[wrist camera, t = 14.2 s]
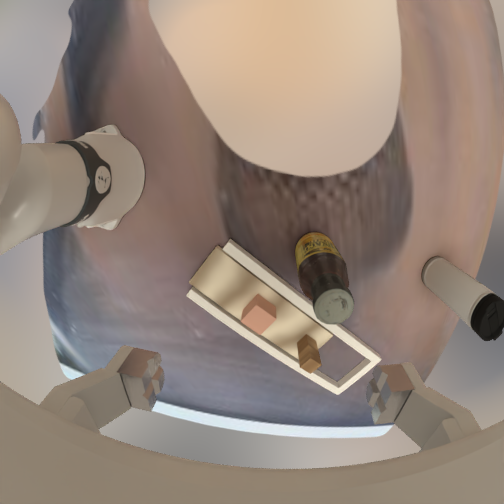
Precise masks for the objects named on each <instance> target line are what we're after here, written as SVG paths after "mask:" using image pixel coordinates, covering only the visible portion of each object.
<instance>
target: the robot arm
mask: <svg viewBox="0 0 504 504" xmlns="http://www.w3.org/2000/svg"><path fill="white" fill-rule="evenodd" d="M105 131H106V133H105ZM144 180H145V170H144V164H143V160H142V157H141V155H140V153H139V151H138V150H137V148H136V147H135V146H134V145H133V144H132V143H131V142H130V141H128V140H127V139H125V138H124V137H123V136H122V135H121V133H120V131H119V129H118V128H117V127H116V126H115V125H107V126H104V127H102V128H100V129H97V130H95V131H92V132H87V133H85V135H83V136H81V137H79V138H77V139H75V140H66V141H59V142H56V143H28V144H27V143H26V144H21V134H20V129H19V125H18V121H17V118H16V116H15V114H14V111H13V109H12V107H11V106H10V104H9V103H8V102H7V100H6V99H5V98H4V97H3V96H2V95H1V94H0V255H2V254H3V253H5V252H7V251H8V250H9V249H11V248H13V247H14V246H16V245H18V244H19V243H21V242H23V241H24V240H27V239H28V238H31V237H33V236H35V235H38V234H40V233H43V232H45V231H48V230H51V229H53V228H56V227H66V226H73V225H76V224H77V227H80V228H82V227H84V226H86V227H87V228H92V227H96V226H97V227H100V228H104V229H107V230H113V229H115V228H116V227H117V226H118V224H119V222H120V220H121V218H122V217H123V215H124V214H126V213H127V212H128V211H129V210H131V209H132V208H133V207H134V205H135V204H136V203H137V201H138V199H139V198H140V195H141V193H142V190H143V186H144ZM106 223H107V224H106ZM161 361H162V360H161V356H160V354H159V353H158V352H153V351H148V350H144V349H139V348H134V347H130V346H125V345H124V346H122V347H121V348H120V349H119V350H118V352H117V353H116V354H115V356H114V357H113V358H112V360H111V361H110V362H109V363H108V365H107V366H106V367H105V369H102V368H100V369H98V370H96V371H93V372H91V373H88V374H86V375H83V376H81V377H78V378H76V379H73V380H71V381H68V382H66V383H63V384H61V385H58V386H55V387H54V388H53V389H52V390H51V392H50V393H49V394H48V395H47V396H46V398H45V399H44V400H43V401H42V402H41V404H40V405H37V404H35V403H34V402H32V401H30V400H28V399H27V398H25V397H24V396H22V395H20V394H19V393H17V392H15V391H14V390H12V389H11V388H9V387H7V386H6V385H5V384H3V383H2V382H1V381H0V504H504V420H503V421H501V422H499V423H497V424H495V425H492V426H490V427H488V428H486V429H484V430H481V428H480V427H479V425H478V423H477V421H476V420H475V418H474V416H473V415H472V413H471V411H470V410H468V409H466V408H464V407H462V406H461V405H459V404H457V403H456V402H454V401H452V400H450V399H449V398H447V397H445V396H443V395H442V394H440V393H438V392H437V391H435V390H433V389H431V388H430V387H428V388H426V386H425V385H424V383H423V381H422V379H421V378H420V376H419V374H418V373H417V371H416V369H415V368H414V366H413V364H412V363H410V362H408V363H400V364H392V365H379V366H376V367H375V368H374V371H373V373H372V374H373V376H374V378H373V379H372V380H371V381H370V382H369V384H368V386H367V392H366V397H367V402H368V404H369V405H370V406H371V407H373V409H372V411H371V414H372V417H373V420H374V423H375V424H383V423H391V422H394V424H396V425H397V426H398V427H399V428H400V429H401V430H402V431H403V432H404V433H405V434H406V435H408V436H409V437H410V438H411V439H412V440H413V441H414V442H415V443H416V444H417V445H418V446H420V447H421V448H422V449H421V450H420V451H419V452H418V453H414V454H410V455H406V456H402V457H397V458H392V459H387V460H383V461H377V462H371V463H365V464H357V465H349V466H340V467H329V468H312V469H266V468H265V469H264V468H249V467H237V466H228V465H220V464H213V463H206V462H200V461H194V460H189V459H184V458H179V457H175V456H170V455H166V454H162V453H158V452H154V451H150V450H146V449H143V448H140V447H136V446H133V445H130V444H127V443H124V442H121V441H118V440H115V439H112V438H109V437H107V436H104V435H101V433H100V431H99V429H100V428H102V427H103V426H105V425H106V424H108V423H109V422H111V421H113V420H114V419H115V418H117V417H119V416H120V415H122V414H123V413H125V412H126V411H127V410H129V409H130V408H131V407H134V408H138V409H142V410H146V411H152V409H153V407H154V405H155V403H156V400H157V399H156V394H158V393H159V392H161V390H162V387H163V383H164V371H163V369H162V368H161V367H160V366H159V365H160V363H161Z"/></svg>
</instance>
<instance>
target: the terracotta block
mask: <svg viewBox="0 0 504 504" xmlns="http://www.w3.org/2000/svg"><path fill="white" fill-rule="evenodd" d="M275 320H276V307H275V306H274V305H273V304H271V303H270V302H269V301H267V300H266V299H265V298H263V297H262V296H261V295H259V294H257V295H256V296H255V297H254V298H253V299H252V300H251V301H250V302H249V303H248V304H247V306H246V307H245V308H244V309H243V311H242V316H241V321H240V322H242V323H243V324H244V325H246V326H247V327H249V328H250V329H252V330H253V331H255V332H256V333H257V334H259V335H261V334H262V333H263V332H264V331H265V330H266V329H267V328H268V327H269V326H270V325H271V324H272V323H273V322H274V321H275Z"/></svg>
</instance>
